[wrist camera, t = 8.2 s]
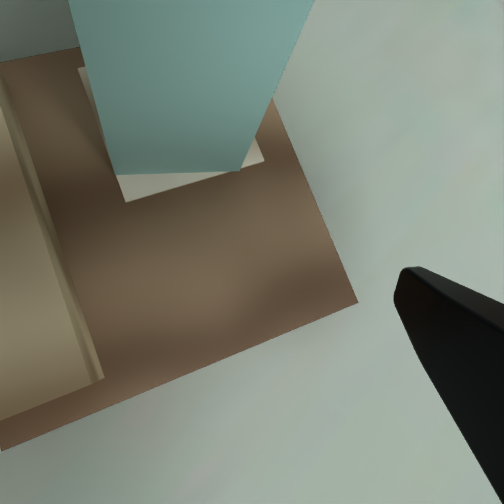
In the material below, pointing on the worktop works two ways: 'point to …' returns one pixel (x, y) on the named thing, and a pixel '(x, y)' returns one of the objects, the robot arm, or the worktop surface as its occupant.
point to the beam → (35, 288)
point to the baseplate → (167, 246)
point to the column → (184, 77)
